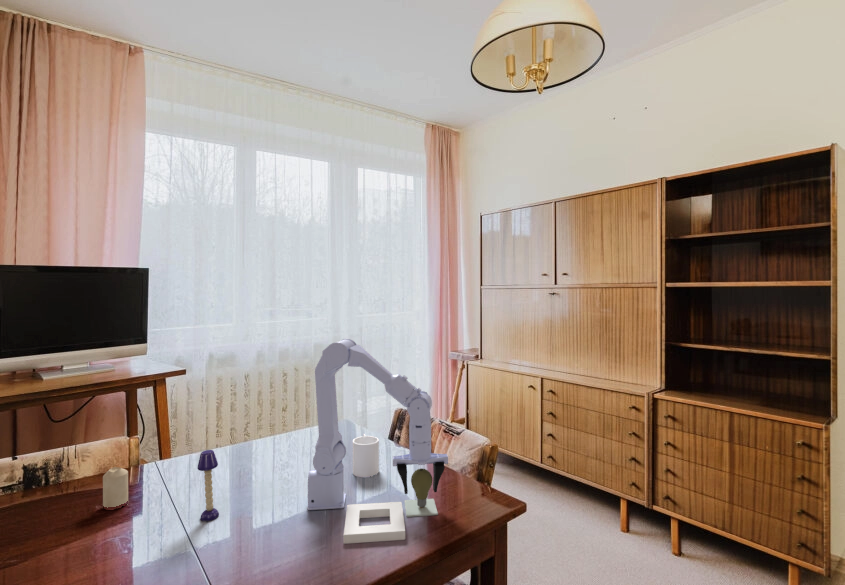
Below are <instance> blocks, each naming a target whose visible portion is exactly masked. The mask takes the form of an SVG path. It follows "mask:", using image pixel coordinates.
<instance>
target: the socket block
mask: <svg viewBox="0 0 845 585" xmlns="http://www.w3.org/2000/svg"><path fill="white" fill-rule="evenodd" d="M382 517H383V518H385V517H389V524H388V523H387V524H377V525H375V524H373V525H360V521H361V519H370V518H371V519H372V518H382ZM404 517H405V516H404V510H403V503H402V501H391V502H390V501H388V502H373V503H355V504H353V503H352V504H347V505H346V513H345V521H344V528H343V545H345V544H360V543H375V542H389V541H404V540H406V526H405V525H406V524H405V518H404Z"/></svg>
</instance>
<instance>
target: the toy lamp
mask: <svg viewBox="0 0 845 585" xmlns="http://www.w3.org/2000/svg"><path fill="white" fill-rule="evenodd" d="M218 465H219V463H218V459H217V457H216V453H215V451H214V450H213V449H206V450H203V451H201V452H200V454H199V458H198V464H197V470H198V471H201V472H204V477H203V478H204V486H205V487H204V491H205V493H204V494H205V495H204V496H205V504H206V505H205V510H203V512H202V513H201V515H200V519H199V520H201V521H202V522H210V521H214V520H215V519H217V518H218V517H219V515H220V513H219V510H218V509H217V508H214V498H213V496H214V493H213V480H212V478H213V474H212V472H213V470H214V469H216V468H217V467H218Z"/></svg>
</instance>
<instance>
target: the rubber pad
mask: <svg viewBox="0 0 845 585" xmlns="http://www.w3.org/2000/svg"><path fill="white" fill-rule="evenodd" d="M404 508H405V515H406V518H412V517H427V516H439V513H438V510H437V506H436V502H435V498H426V506H425V507H424V508H420V507H419V506H418V505H417V499H406V500H405V499H404Z"/></svg>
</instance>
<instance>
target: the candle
mask: <svg viewBox="0 0 845 585" xmlns="http://www.w3.org/2000/svg"><path fill="white" fill-rule="evenodd" d="M127 501H128V502H129V471H128V470H127V469H125V468H122V467H117V466H114V467H112V468H110V469H108V471H106V472H105V473H104V474H103V476H102V507H103V506H104V507H107V508H108V507H116V506H119V505H121V504H124V503H126V502H127Z"/></svg>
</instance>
